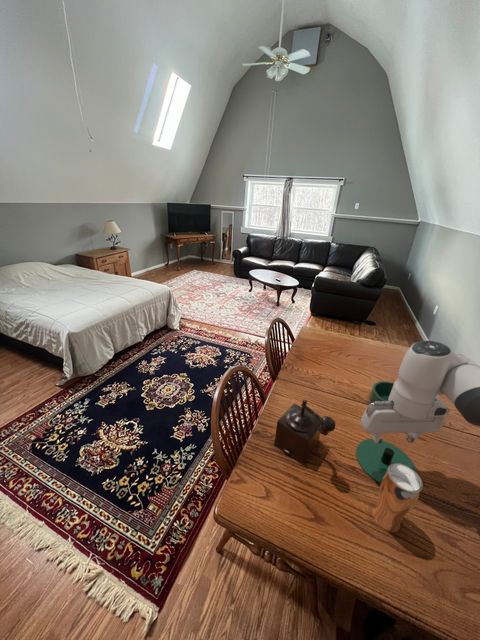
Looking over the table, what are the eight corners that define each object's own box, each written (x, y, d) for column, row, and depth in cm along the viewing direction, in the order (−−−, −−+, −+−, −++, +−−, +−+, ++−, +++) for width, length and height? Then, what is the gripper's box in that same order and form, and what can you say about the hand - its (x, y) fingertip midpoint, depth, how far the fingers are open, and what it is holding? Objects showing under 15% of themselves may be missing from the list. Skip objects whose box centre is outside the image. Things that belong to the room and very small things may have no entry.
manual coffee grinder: (271, 445, 80) (278, 398, 73) (289, 424, 88) (297, 379, 81) (320, 477, 72) (333, 428, 64) (335, 450, 80) (348, 404, 72)
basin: (397, 392, 106) (401, 381, 104) (422, 420, 93) (428, 408, 90) (362, 392, 105) (365, 381, 102) (382, 421, 91) (387, 409, 89)
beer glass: (364, 516, 63) (381, 474, 57) (377, 497, 68) (394, 456, 61) (394, 543, 59) (416, 500, 52) (407, 521, 63) (428, 479, 57)
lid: (394, 440, 84) (398, 428, 82) (429, 489, 70) (436, 477, 68) (346, 441, 83) (350, 429, 81) (372, 492, 69) (377, 479, 67)
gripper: (376, 411, 63) (362, 452, 69) (456, 410, 65) (436, 450, 71) (363, 393, 69) (351, 432, 75) (437, 392, 71) (419, 431, 76)
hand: (393, 441), depth 73 cm, fingers open, 8 cm apart
